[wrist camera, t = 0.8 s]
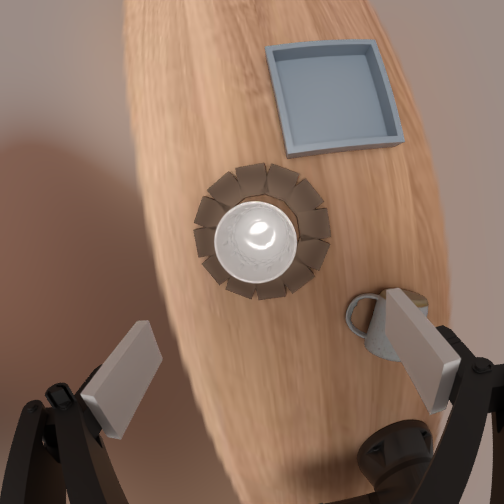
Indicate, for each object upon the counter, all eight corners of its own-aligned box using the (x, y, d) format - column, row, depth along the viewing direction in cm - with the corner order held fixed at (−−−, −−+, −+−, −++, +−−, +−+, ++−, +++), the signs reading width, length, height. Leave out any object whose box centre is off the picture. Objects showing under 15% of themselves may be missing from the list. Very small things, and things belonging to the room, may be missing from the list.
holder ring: (335, 285, 38) (337, 288, 37) (210, 303, 40) (208, 306, 39) (316, 156, 35) (317, 154, 34) (187, 179, 38) (184, 178, 36)
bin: (393, 146, 34) (404, 141, 30) (287, 158, 36) (287, 153, 32) (367, 52, 32) (374, 39, 28) (266, 60, 34) (264, 46, 30)
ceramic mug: (418, 288, 37) (442, 305, 29) (404, 340, 38) (423, 364, 31) (350, 280, 38) (364, 298, 30) (338, 335, 39) (348, 362, 32)
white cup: (295, 204, 37) (300, 205, 27) (289, 265, 38) (292, 287, 28) (233, 198, 37) (216, 198, 28) (229, 259, 39) (211, 279, 29)
